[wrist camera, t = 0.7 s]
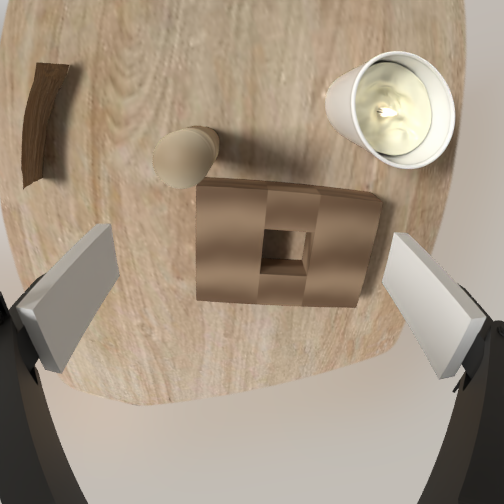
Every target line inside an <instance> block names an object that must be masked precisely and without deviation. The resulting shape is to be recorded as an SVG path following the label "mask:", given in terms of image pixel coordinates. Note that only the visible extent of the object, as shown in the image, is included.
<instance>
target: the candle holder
mask: <svg viewBox="0 0 504 504" xmlns="http://www.w3.org/2000/svg"><path fill="white" fill-rule="evenodd" d="M325 110H326V115H327V117H328V120H329V122H330V124H331V125H332V127H333V128H334V129H335V130H336V131H337V132H338V133H339V134H340V135H341V136H343V137H344V138H346V139H348V140H349V141H351V142H353V143H354V144H356V145H358V146H360V147H361V148H363V149H365V150H366V151H368V152H370V153H371V154H373V155H374V156H375V157H377V158H378V159H379V160H381V161H382V162H384V163H386V164H388V165H390V166H393V167H396V168H401V169H416V168H420V167H423V166H426V165H428V164H430V163H432V162H433V161H435V160H436V159H437V158H438V157H439V156H440V155H441V154H442V153H443V152H444V150H445V149H446V148H447V146H448V144H449V142H450V140H451V137H452V134H453V131H454V126H455V106H454V101H453V97H452V94H451V91H450V89H449V87H448V85H447V83H446V81H445V79H444V78H443V77H442V75H441V74H440V73H439V71H438V70H437V69H436V68H435V67H434V66H433V65H432V64H430V63H429V62H428V61H426V60H425V59H423V58H421V57H419V56H417V55H415V54H412V53H408V52H403V51H391V52H386V53H382V54H380V55H377V56H376V57H374V58H372V59H371V60H369V61H367V62H365V63H363V64H361V65H359V66H357V67H356V68H354V69H352V70H350V71H348V72H346V73H344V74H342V75H341V76H339V77H338V78H337V79H335V80H334V81H333V83H332V84H331V85H330V87H329V89H328V91H327V94H326V98H325Z"/></svg>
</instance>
